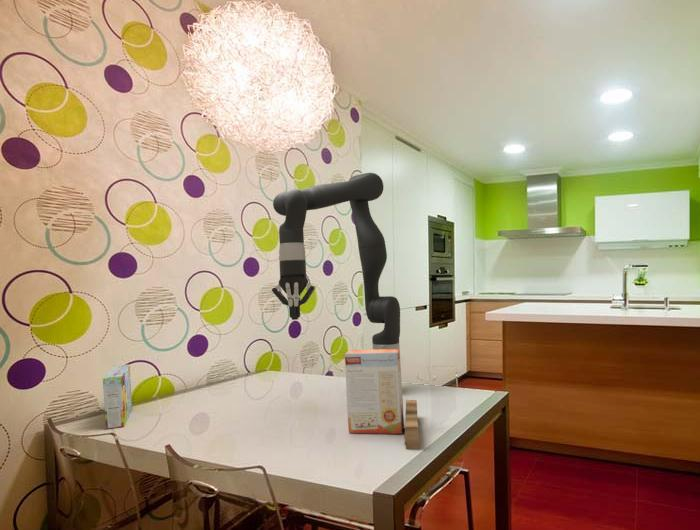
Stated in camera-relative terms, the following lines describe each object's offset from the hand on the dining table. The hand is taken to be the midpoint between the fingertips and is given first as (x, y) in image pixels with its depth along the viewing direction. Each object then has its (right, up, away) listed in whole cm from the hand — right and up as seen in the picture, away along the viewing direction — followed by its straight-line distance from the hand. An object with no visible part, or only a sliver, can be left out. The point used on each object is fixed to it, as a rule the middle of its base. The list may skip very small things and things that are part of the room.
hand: (295, 319), depth 136 cm
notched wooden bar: (+32, -27, -15) cm, 44 cm away
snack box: (-56, -32, +10) cm, 65 cm away
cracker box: (+23, -28, -12) cm, 38 cm away
